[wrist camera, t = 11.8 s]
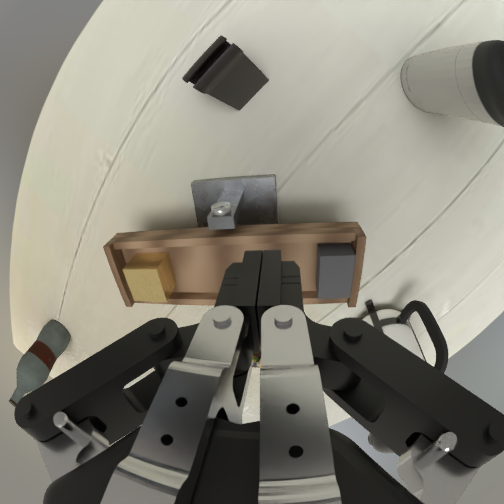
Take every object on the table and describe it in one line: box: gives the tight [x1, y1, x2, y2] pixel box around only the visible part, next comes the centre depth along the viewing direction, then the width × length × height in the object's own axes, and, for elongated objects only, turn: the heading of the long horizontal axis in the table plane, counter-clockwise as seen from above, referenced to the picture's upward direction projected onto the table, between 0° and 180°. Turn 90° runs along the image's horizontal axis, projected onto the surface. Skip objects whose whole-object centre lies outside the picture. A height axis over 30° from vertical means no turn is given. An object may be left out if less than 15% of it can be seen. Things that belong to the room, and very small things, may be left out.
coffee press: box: [362, 300, 448, 453], centre depth 37 cm, size 17×16×30 cm
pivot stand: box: [191, 175, 278, 230], centre depth 38 cm, size 12×18×11 cm, turn 5°
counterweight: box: [316, 243, 356, 299], centre depth 32 cm, size 4×6×3 cm, turn 5°
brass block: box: [122, 252, 177, 302], centre depth 34 cm, size 5×5×4 cm
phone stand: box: [182, 36, 268, 110], centre depth 26 cm, size 9×6×12 cm, turn 48°
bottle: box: [9, 320, 70, 407], centre depth 51 cm, size 9×9×30 cm
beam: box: [103, 222, 366, 307], centre depth 34 cm, size 32×10×4 cm, turn 95°
